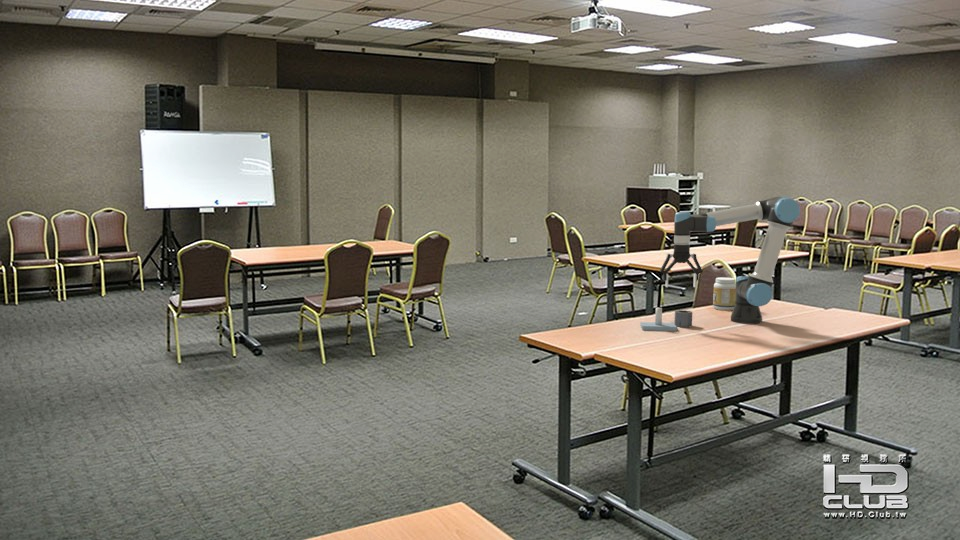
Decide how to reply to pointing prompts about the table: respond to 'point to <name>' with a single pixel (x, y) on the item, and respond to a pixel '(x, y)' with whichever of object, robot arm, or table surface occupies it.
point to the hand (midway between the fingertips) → (680, 287)
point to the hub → (683, 318)
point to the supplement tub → (724, 293)
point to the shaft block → (658, 323)
